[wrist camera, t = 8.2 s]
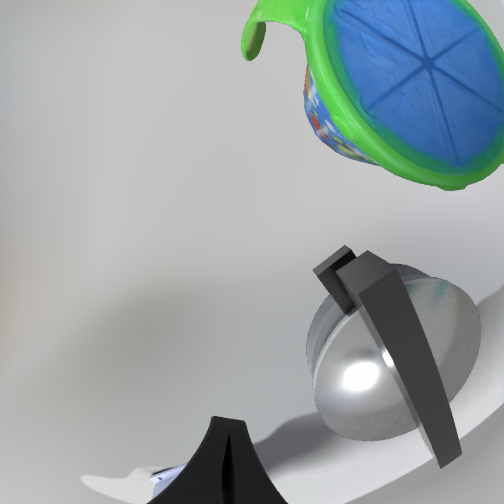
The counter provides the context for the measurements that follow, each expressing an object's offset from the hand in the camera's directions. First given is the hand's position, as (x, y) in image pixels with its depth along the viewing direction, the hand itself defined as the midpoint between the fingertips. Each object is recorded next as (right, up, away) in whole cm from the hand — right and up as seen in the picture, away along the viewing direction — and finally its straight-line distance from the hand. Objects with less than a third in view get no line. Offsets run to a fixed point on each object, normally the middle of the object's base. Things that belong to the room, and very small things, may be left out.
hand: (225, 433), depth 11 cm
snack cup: (+8, +17, +7) cm, 20 cm away
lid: (+11, 0, +6) cm, 13 cm away
